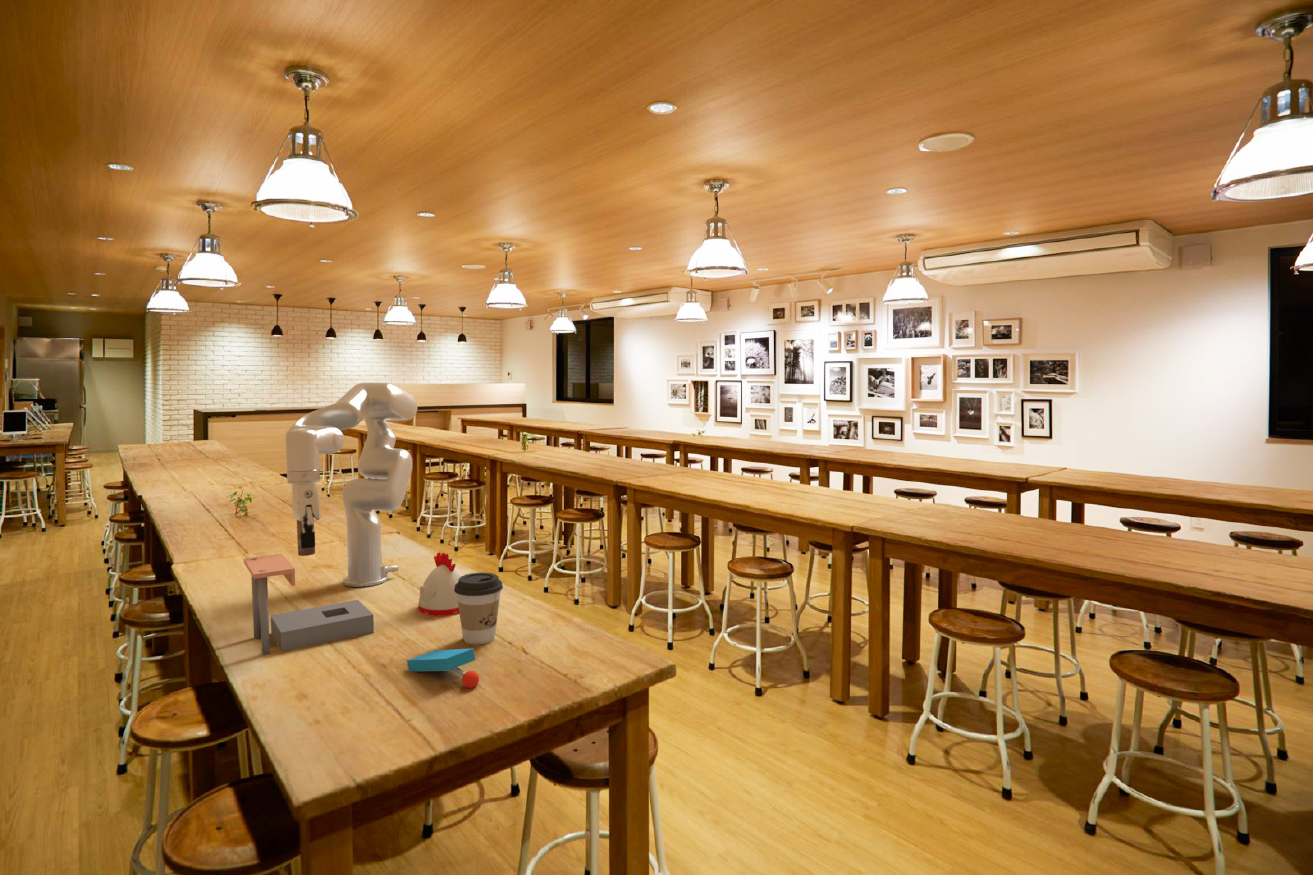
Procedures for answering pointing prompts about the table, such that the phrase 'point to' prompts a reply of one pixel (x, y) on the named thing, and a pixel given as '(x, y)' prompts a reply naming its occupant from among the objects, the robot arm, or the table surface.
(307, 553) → the walnut peg
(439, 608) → the kitchen timer
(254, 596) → the pink topped stand
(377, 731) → the table surface
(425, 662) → the lever
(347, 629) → the socket block
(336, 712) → the table surface
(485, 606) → the coffee cup
